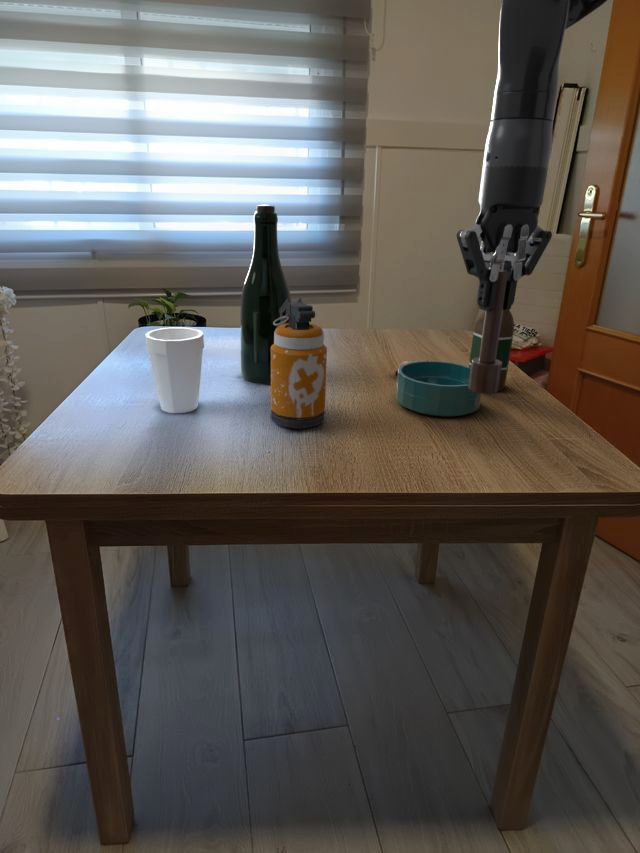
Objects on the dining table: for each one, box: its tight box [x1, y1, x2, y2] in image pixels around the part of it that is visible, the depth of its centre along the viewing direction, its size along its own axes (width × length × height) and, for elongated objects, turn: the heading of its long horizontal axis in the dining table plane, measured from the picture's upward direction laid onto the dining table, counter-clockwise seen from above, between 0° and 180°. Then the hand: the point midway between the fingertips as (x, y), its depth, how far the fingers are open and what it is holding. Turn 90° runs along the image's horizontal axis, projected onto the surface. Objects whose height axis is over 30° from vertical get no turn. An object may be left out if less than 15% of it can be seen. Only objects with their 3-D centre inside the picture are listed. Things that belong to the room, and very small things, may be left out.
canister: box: [270, 297, 328, 429], centre depth 93 cm, size 9×11×20 cm
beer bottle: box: [468, 263, 515, 392], centre depth 112 cm, size 8×8×24 cm
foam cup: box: [144, 327, 205, 414], centre depth 98 cm, size 10×9×13 cm
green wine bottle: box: [240, 204, 292, 384], centre depth 111 cm, size 10×10×33 cm
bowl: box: [395, 360, 483, 418], centre depth 105 cm, size 15×15×6 cm
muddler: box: [468, 270, 509, 395], centre depth 76 cm, size 4×4×16 cm
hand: (494, 308), depth 75 cm, fingers closed on muddler, 2 cm apart
